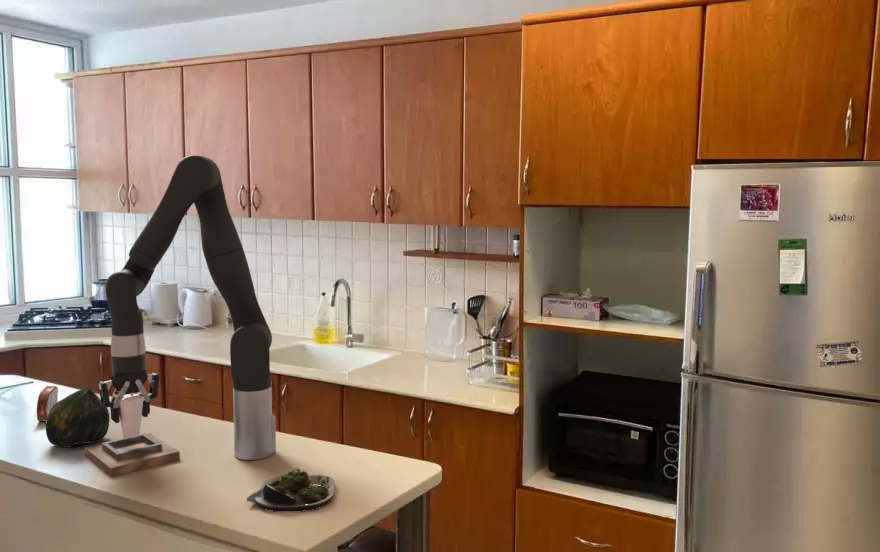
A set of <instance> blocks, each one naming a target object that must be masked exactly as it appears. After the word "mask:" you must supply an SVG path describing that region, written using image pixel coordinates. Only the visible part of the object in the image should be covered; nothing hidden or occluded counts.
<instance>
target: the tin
mask: <svg viewBox="0 0 880 552" xmlns="http://www.w3.org/2000/svg"><path fill="white" fill-rule="evenodd" d="M58 392H59V388H58V387H57V386H56V385H46V386H45V387H44V388H43V389H42V390H41V391H40V392H39V395H38V398H37V400H36V401H37V402H36V403H37V404H36V420H37V421H38V422H46V420H47V418H48V415H49V412H50V410H51V408H52V407H53V406H54V405H55V404H56V403H57V402H59V401H58V395H59V394H58Z"/></svg>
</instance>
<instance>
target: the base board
mask: <svg viewBox="0 0 880 552" xmlns="http://www.w3.org/2000/svg"><path fill="white" fill-rule="evenodd" d="M84 455H85V457H86V458H88V459H89V460H90V461H92V462H93V463H94V464H95V465H96V466H98V467H99V468H100V469H101V470H102V471H103V472H105V473H106V474H107V475H108V476H110V477H115V476H120V475H123V474H128V473H131V472H134V471H138V470H143V469H147V468H150V467H151V468H152V467H155V466H158V465H162V464H166V463H170V462H174V461H178V460H180V459H181V456H180V455H181V452H180V450H178V449H177V448H175V447H173V446H172V445H170V444H169V443H167V442H165V441H164V440H162V439H161V438H159V437H157V436H155V435H154V434H153V433H151V432H149V433H140V435H139V436H138V437H135V438H124V437H123V438H118V439H114V440H110V441H105V442H102V443H100V444H95V445H90V446H86V447H84Z"/></svg>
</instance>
